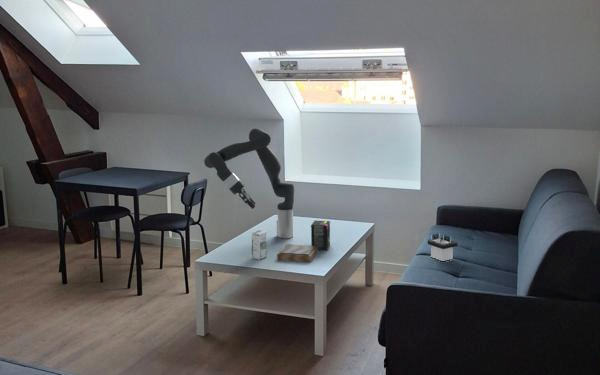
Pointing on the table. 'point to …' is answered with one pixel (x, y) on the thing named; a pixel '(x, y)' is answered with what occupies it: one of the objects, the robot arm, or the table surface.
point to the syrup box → (259, 244)
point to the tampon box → (320, 234)
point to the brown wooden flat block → (297, 253)
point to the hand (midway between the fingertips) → (254, 206)
